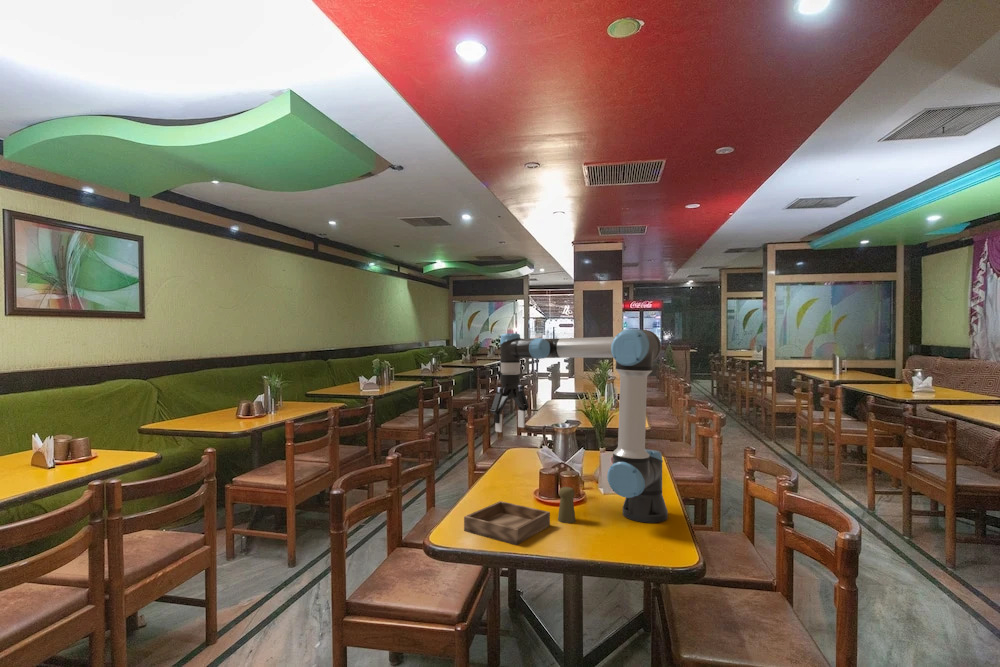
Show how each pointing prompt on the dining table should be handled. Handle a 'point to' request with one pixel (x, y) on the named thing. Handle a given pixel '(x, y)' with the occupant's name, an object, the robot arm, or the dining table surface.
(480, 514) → the tray
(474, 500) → the dining table surface
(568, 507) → the olive pepper mill
